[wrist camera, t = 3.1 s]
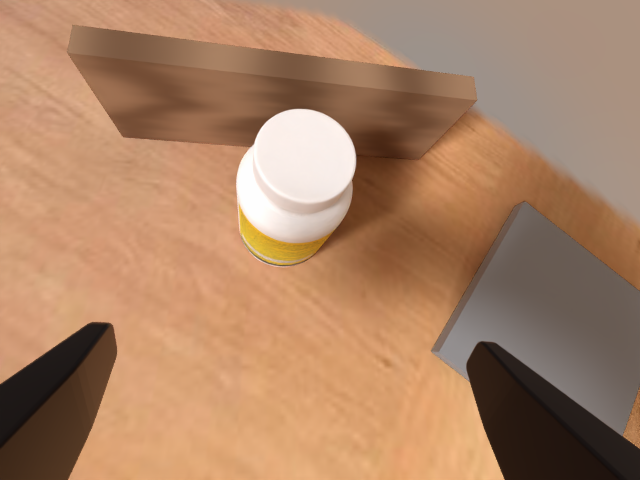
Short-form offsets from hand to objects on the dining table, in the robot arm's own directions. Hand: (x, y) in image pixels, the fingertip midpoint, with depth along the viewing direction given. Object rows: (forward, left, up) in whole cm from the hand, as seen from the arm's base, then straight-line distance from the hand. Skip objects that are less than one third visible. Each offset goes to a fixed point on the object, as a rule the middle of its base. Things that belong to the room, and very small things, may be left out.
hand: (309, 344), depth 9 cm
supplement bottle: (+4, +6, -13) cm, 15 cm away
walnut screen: (+7, +11, -13) cm, 18 cm away
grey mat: (+17, -9, -13) cm, 23 cm away
